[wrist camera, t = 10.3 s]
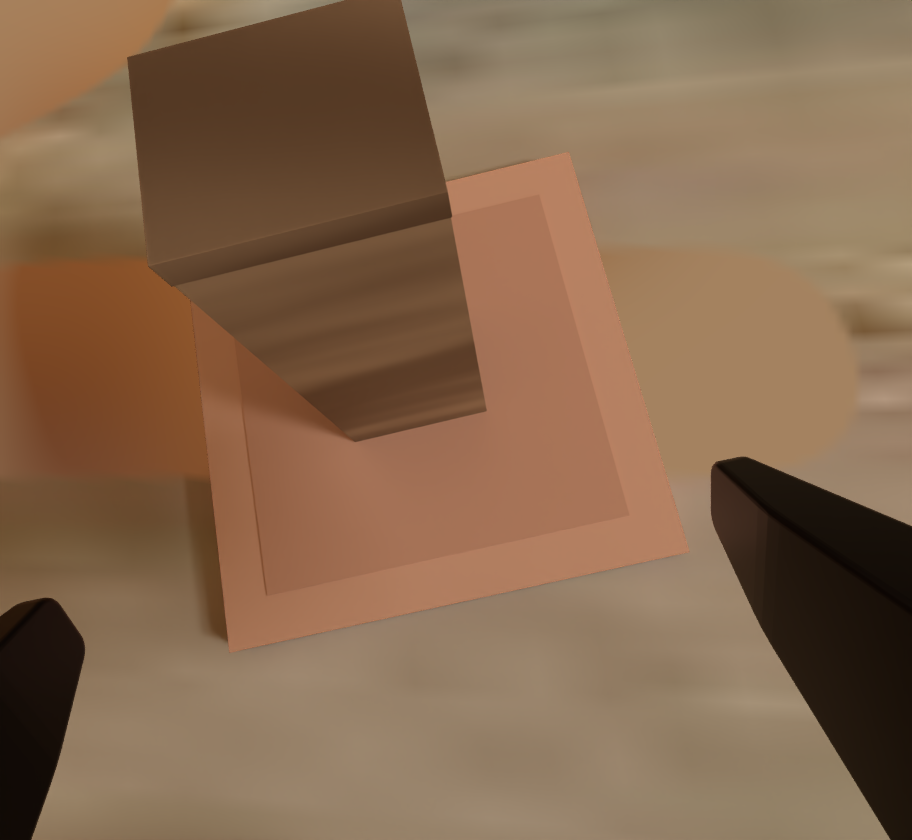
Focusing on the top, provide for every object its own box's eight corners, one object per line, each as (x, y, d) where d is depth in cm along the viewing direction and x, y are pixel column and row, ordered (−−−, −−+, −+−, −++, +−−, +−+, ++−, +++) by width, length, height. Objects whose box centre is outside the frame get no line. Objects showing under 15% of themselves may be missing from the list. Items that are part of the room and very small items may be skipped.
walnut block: (487, 411, 19) (447, 191, 8) (354, 442, 19) (147, 265, 8) (462, 306, 20) (397, -14, 9) (335, 337, 20) (126, 56, 9)
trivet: (680, 553, 18) (690, 552, 17) (244, 649, 19) (228, 653, 18) (566, 170, 22) (569, 150, 21) (198, 260, 22) (183, 245, 21)
